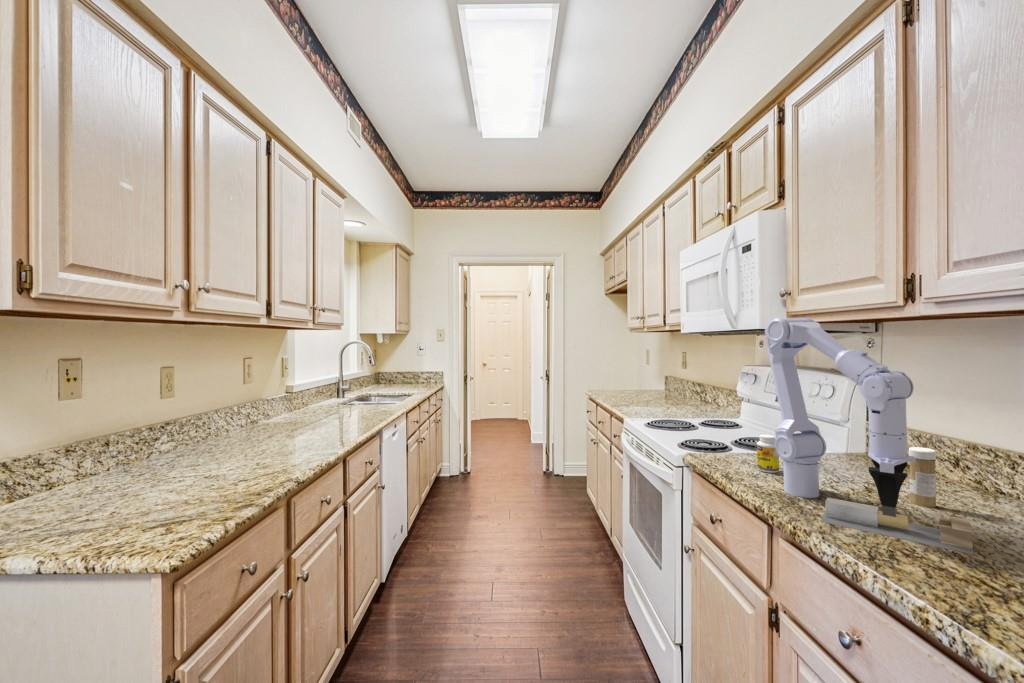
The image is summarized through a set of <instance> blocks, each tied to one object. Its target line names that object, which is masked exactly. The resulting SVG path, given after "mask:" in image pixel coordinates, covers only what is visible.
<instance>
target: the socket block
mask: <svg viewBox="0 0 1024 683" xmlns="http://www.w3.org/2000/svg"><path fill="white" fill-rule="evenodd" d="M938 521H939V529H940V538H941V543H945V544H950V545H955V546H960V547H964V548H969V549H974V548H973V547H974V546H973V545H974V544H973V527H972V524H971V521H970V519H966V518H959V517H955V516H950V517H949V519H948V518H944V517H943V518H942V517H939V520H938Z"/></svg>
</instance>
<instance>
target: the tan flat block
mask: <svg viewBox="0 0 1024 683" xmlns="http://www.w3.org/2000/svg"><path fill="white" fill-rule="evenodd" d="M881 506H882V505H881ZM881 508H882V509H881V510H882V511H881V510H878V512H877V514H878V524H882V525H887V526H892V527H897V528H902V529H906V530H908V523H909V516H907V515H903V514H898V513H897V507H896V508H893V507H888V506H882V507H881Z"/></svg>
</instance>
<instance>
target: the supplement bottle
mask: <svg viewBox="0 0 1024 683" xmlns="http://www.w3.org/2000/svg"><path fill="white" fill-rule="evenodd" d="M775 440H776V435H771V434H760V435H759V440H758V441H756V468H757V470H758V471H760V472H763V473H769V474H775V473H778V472H779V471H780V456H779V454H778V453H777V451H776V448H775Z"/></svg>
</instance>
